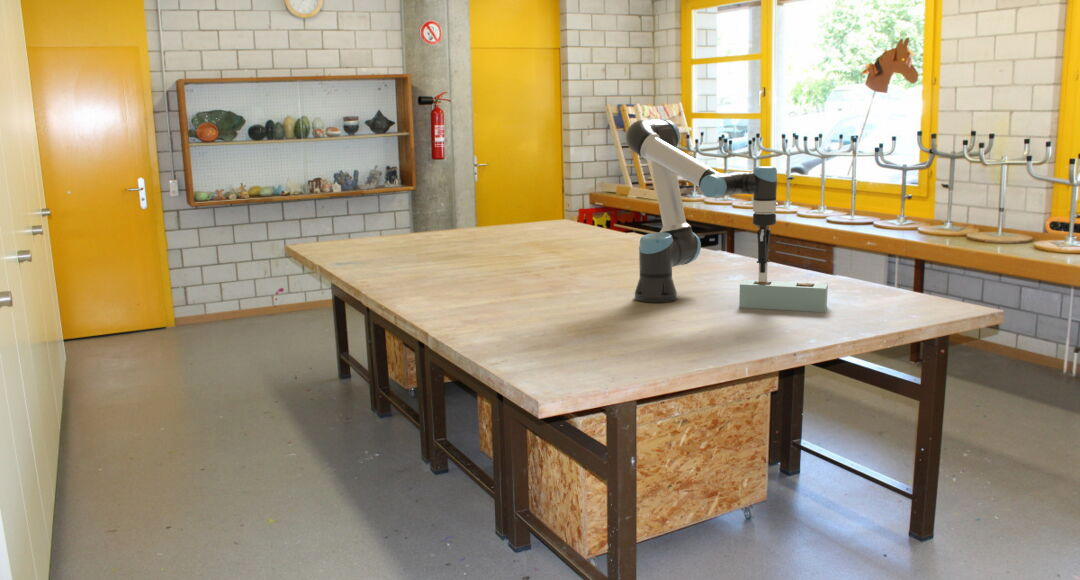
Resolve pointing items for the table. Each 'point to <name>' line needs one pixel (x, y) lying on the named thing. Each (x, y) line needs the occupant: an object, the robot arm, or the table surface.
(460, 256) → the table surface
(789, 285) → the socket board
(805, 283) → the peg
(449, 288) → the table surface
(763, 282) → the peg
